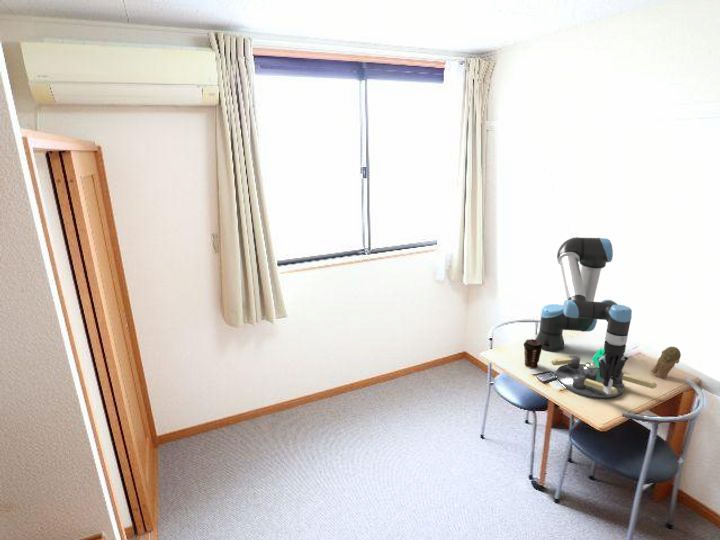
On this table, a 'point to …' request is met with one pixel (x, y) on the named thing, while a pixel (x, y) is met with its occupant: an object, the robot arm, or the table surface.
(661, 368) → the figurine
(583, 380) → the knob
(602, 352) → the camera mount
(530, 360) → the coffee cup
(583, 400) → the table surface
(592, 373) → the level base
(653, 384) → the knob
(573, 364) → the maraca
